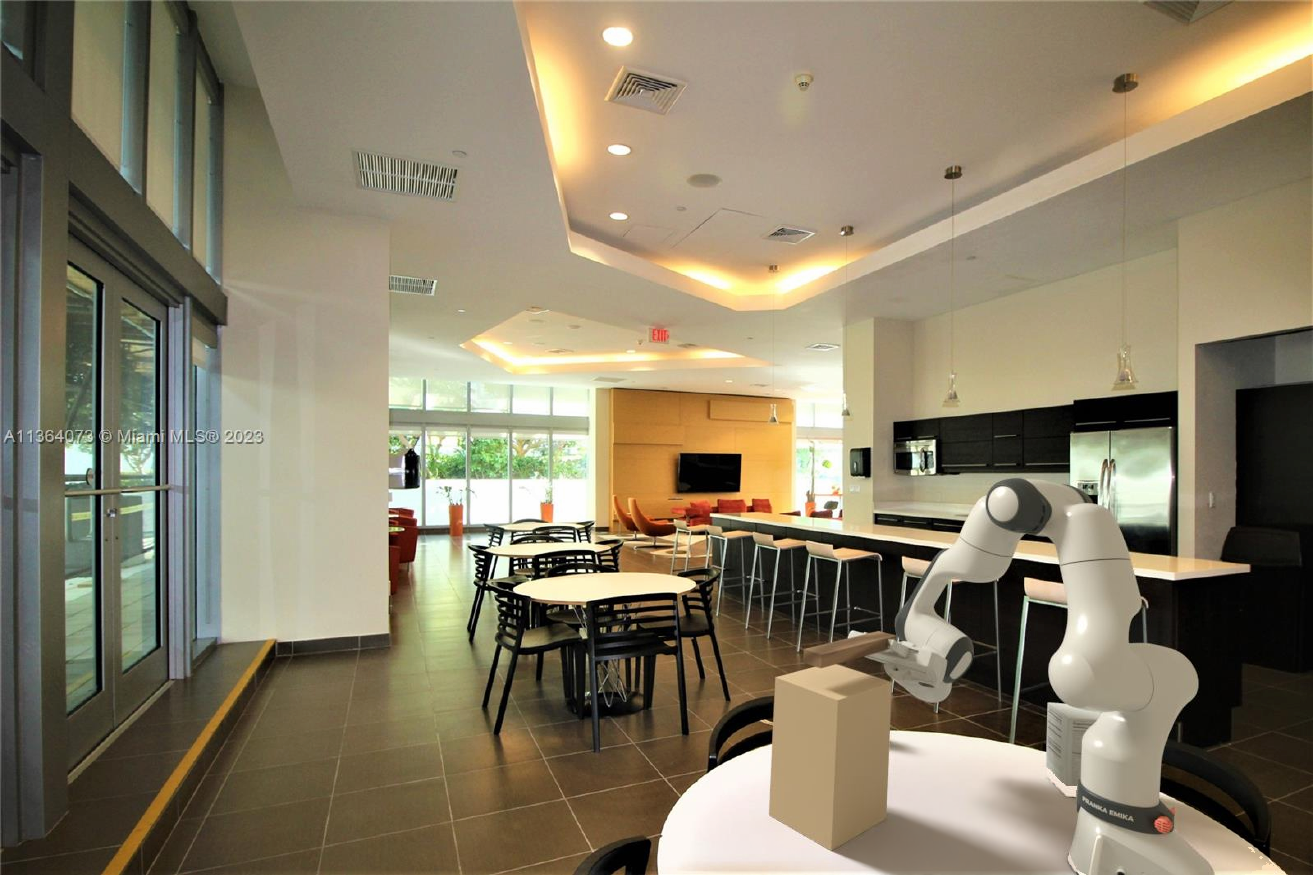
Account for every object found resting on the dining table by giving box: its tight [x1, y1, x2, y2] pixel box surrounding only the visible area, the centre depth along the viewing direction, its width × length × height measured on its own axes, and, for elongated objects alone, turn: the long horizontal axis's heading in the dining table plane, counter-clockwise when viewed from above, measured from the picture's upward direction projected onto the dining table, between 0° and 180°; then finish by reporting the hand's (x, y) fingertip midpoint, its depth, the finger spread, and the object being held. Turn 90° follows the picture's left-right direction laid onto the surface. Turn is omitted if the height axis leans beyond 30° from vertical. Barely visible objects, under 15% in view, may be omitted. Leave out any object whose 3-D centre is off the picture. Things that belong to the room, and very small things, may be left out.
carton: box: [768, 664, 893, 852], centre depth 126 cm, size 14×18×26 cm
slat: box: [802, 630, 897, 668], centre depth 130 cm, size 4×26×2 cm, turn 130°
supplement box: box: [1045, 702, 1101, 786], centre depth 143 cm, size 10×9×17 cm
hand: (877, 639), depth 136 cm, fingers closed on slat, 4 cm apart
